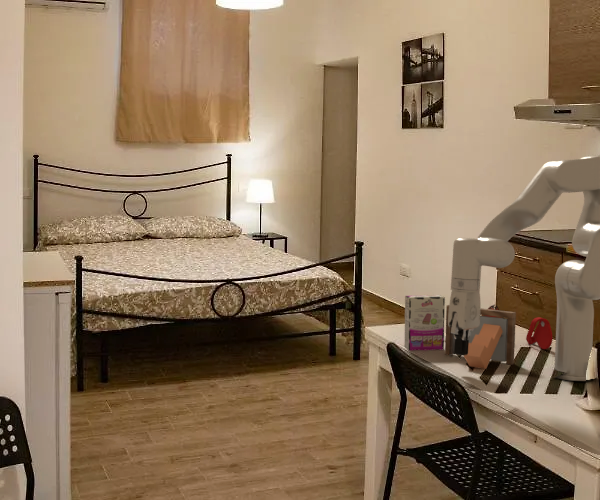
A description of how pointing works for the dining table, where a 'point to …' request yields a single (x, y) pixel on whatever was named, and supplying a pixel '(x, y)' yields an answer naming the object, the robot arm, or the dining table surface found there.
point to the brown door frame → (489, 312)
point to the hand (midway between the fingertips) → (461, 354)
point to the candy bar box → (424, 322)
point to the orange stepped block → (483, 346)
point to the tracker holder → (540, 333)
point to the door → (501, 346)
